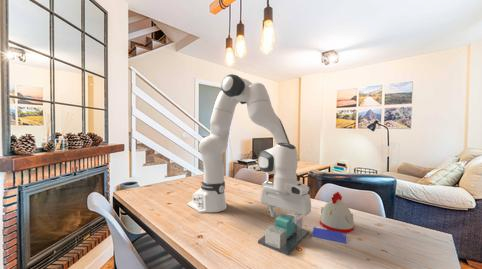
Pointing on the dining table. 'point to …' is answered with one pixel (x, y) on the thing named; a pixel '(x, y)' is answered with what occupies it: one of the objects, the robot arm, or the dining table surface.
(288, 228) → the block
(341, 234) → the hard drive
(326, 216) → the kitchen timer
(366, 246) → the dining table surface
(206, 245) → the dining table surface
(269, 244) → the rail panel
